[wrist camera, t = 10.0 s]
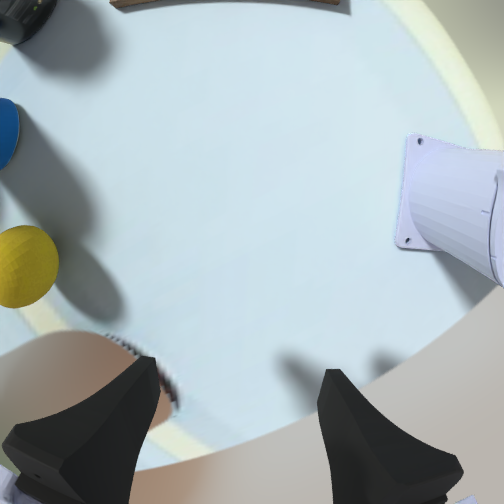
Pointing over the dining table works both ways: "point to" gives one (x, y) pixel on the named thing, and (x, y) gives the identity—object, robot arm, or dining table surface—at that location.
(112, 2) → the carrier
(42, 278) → the lemon
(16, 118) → the beverage can
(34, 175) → the dining table surface
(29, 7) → the supplement bottle
